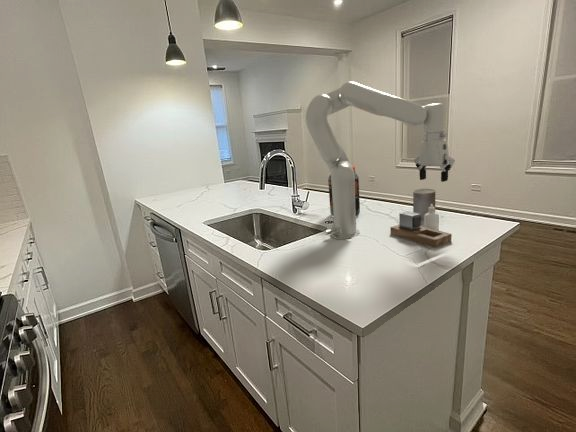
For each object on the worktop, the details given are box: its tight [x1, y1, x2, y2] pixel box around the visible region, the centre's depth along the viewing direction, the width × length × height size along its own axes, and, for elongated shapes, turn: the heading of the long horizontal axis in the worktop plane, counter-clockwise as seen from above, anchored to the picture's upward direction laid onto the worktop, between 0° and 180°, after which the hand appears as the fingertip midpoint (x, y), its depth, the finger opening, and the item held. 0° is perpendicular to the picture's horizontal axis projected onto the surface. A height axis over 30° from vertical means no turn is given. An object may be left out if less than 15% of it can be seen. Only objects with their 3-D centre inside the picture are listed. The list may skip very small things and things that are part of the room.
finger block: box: [398, 210, 422, 231], centre depth 128 cm, size 4×7×9 cm, turn 29°
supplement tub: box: [327, 165, 361, 217], centre depth 167 cm, size 16×16×26 cm
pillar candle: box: [412, 187, 436, 221], centre depth 149 cm, size 10×10×15 cm
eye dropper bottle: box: [423, 204, 440, 231], centre depth 132 cm, size 4×6×12 cm
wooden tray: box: [390, 224, 453, 249], centre depth 125 cm, size 10×21×4 cm, turn 29°
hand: (433, 180), depth 128 cm, fingers open, 9 cm apart
